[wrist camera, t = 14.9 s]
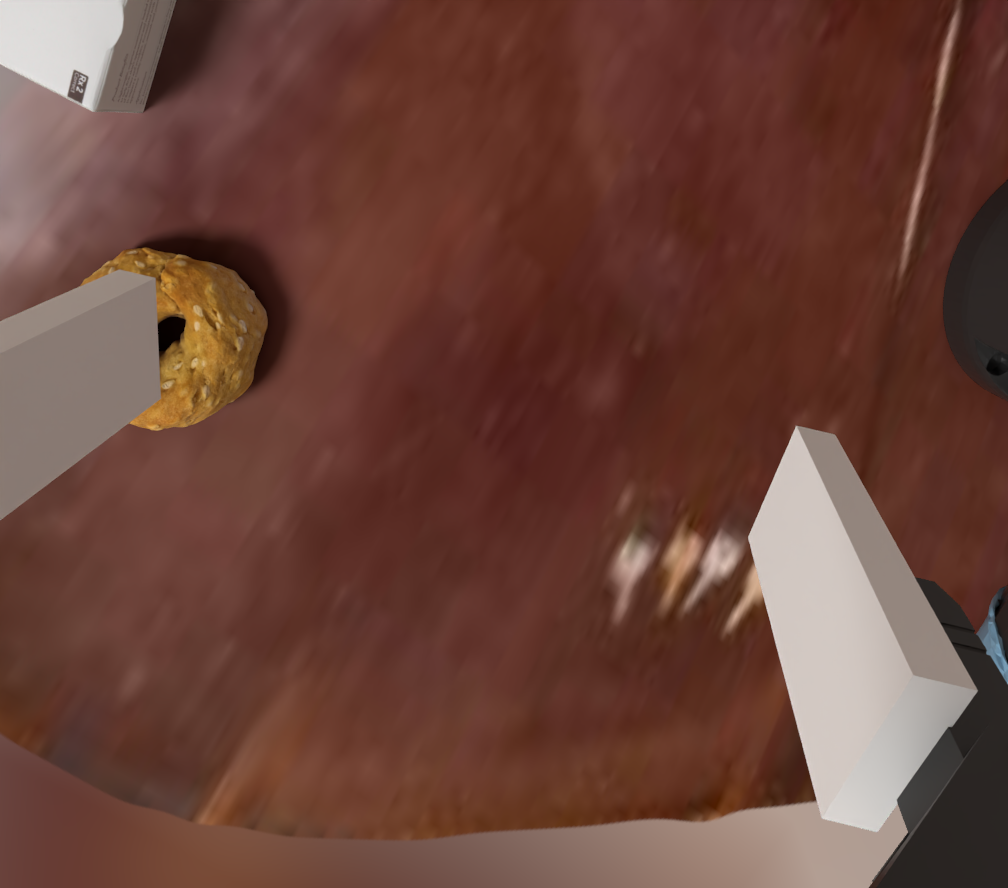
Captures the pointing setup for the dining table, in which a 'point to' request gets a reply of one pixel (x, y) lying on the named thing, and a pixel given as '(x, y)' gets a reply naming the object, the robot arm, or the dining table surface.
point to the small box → (87, 48)
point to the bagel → (197, 334)
